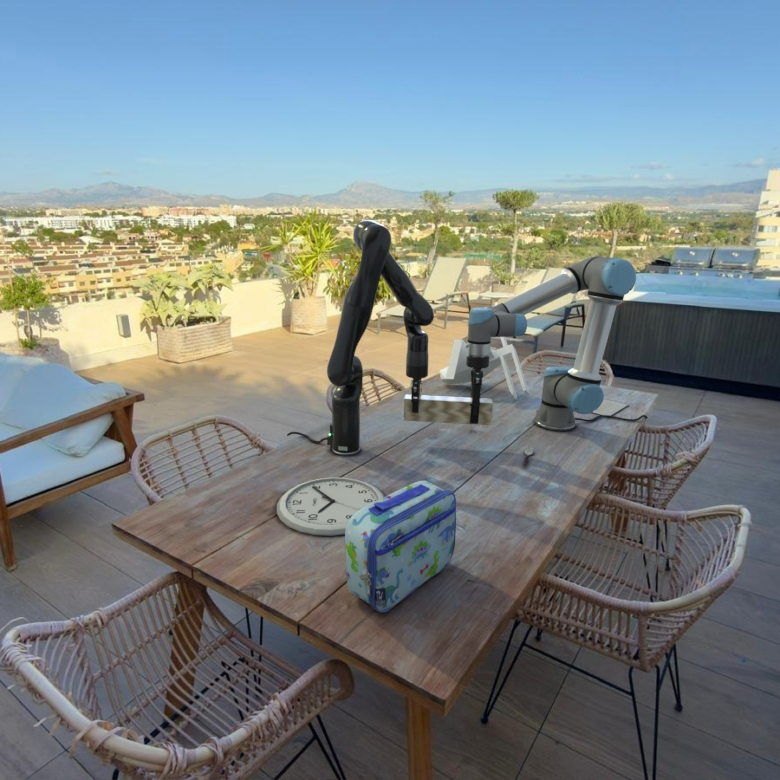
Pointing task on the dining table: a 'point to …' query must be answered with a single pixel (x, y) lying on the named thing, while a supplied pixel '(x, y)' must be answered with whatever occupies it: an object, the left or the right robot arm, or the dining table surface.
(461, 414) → the plank
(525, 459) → the fork
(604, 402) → the invitation card
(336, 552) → the dining table surface
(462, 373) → the white plastic object
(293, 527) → the wall clock
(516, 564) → the dining table surface
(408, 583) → the lunch box
